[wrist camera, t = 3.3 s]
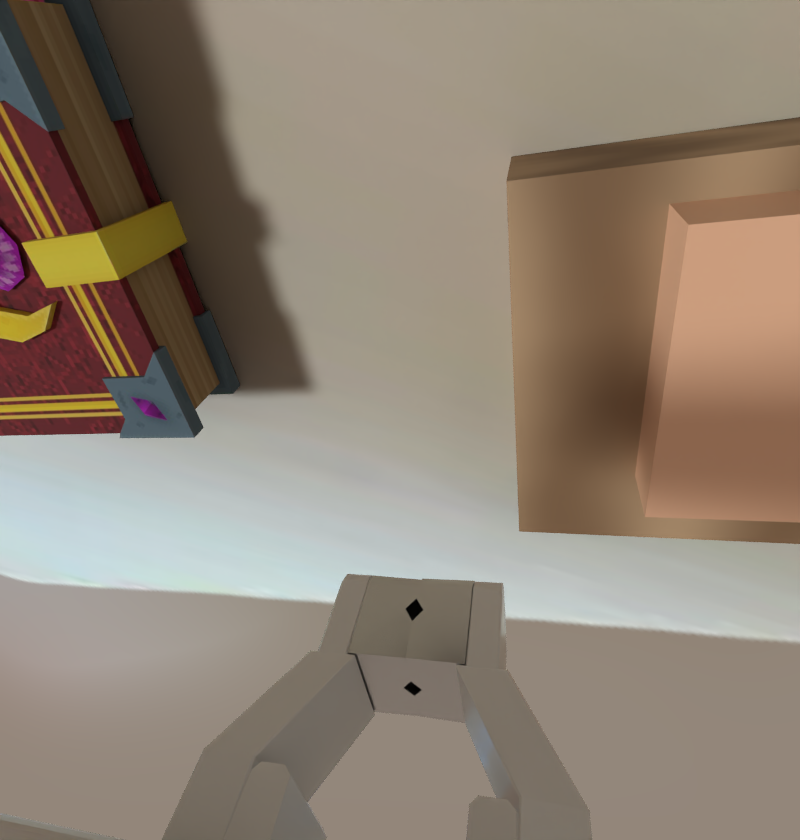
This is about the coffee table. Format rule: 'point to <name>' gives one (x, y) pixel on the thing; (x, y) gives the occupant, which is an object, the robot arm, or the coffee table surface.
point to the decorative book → (89, 249)
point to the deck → (611, 315)
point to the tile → (725, 364)
